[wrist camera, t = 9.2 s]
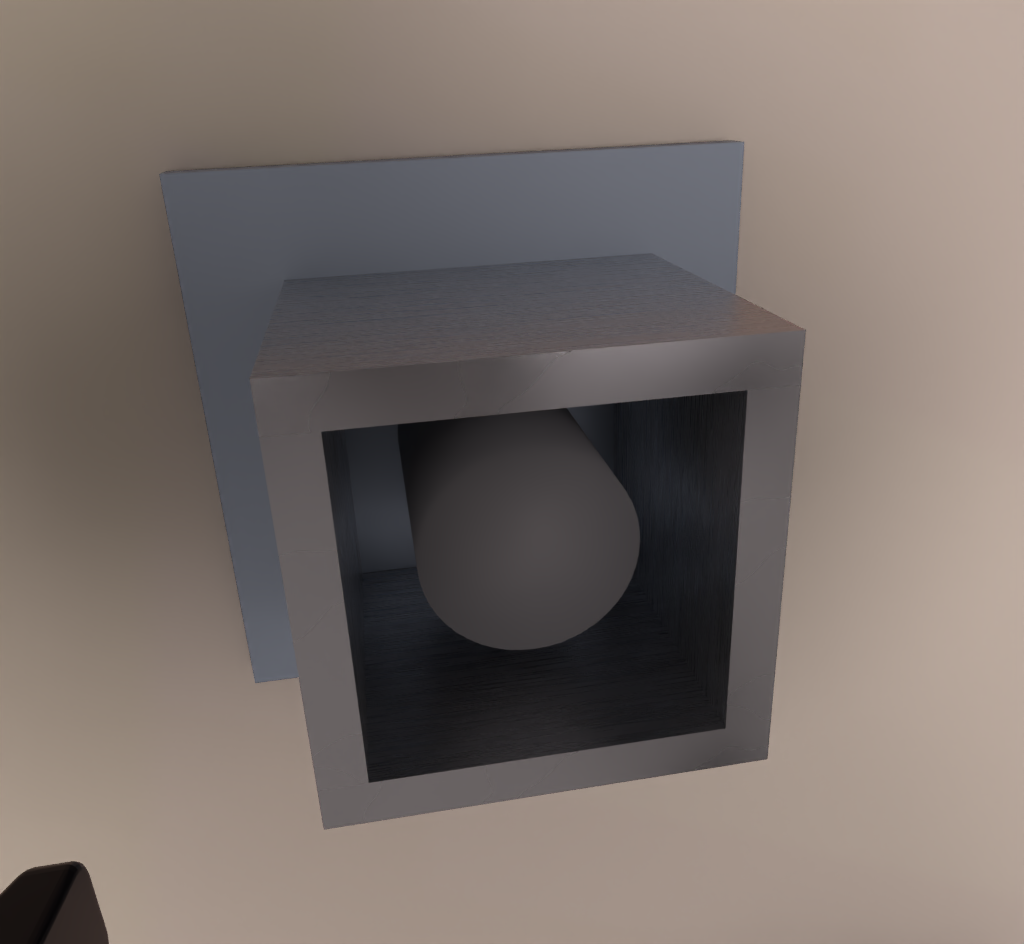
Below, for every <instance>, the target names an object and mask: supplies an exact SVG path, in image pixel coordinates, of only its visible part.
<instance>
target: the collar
mask: <svg viewBox="0 0 1024 944" xmlns="http://www.w3.org/2000/svg"><path fill="white" fill-rule="evenodd" d="M805 333H806V330H805V329H803V328H801V327H799V326H797V325H795V324H793V323H791V322H789V321H787V320H785V319H783V318H781V317H779V316H777V315H775V314H773V313H771V312H769V311H767V310H765V309H763V308H761V307H759V306H757V305H755V304H753V303H751V302H749V301H747V300H745V299H743V298H741V297H739V296H737V295H735V294H733V293H731V292H729V291H727V290H725V289H723V288H721V287H719V286H717V285H715V284H713V283H711V282H709V281H707V280H705V279H703V278H701V277H699V276H697V275H695V274H693V273H691V272H689V271H687V270H685V269H683V268H681V267H679V266H677V265H674V264H672V263H670V262H668V261H666V260H664V259H662V258H660V257H658V256H656V255H654V254H652V253H646V254H632V255H619V256H605V257H591V258H578V259H564V260H551V261H537V262H523V263H510V264H496V265H482V266H469V267H455V268H441V269H428V270H414V271H400V272H387V273H373V274H359V275H346V276H332V277H318V278H305V279H291V280H284V282H283V285H282V288H281V291H280V294H279V296H278V299H277V302H276V305H275V308H274V311H273V313H272V316H271V319H270V322H269V325H268V327H267V330H266V333H265V336H264V339H263V342H262V344H261V347H260V350H259V353H258V356H257V359H256V361H255V364H254V367H253V370H252V373H251V376H250V378H249V380H250V386H251V392H252V398H253V404H254V410H255V416H256V422H257V429H258V435H259V441H260V447H261V453H262V459H263V465H264V471H265V477H266V483H267V489H268V495H269V501H270V507H271V513H272V519H273V525H274V531H275V537H276V543H277V549H278V555H279V561H280V567H281V573H282V579H283V585H284V591H285V598H286V604H287V610H288V616H289V622H290V628H291V634H292V640H293V646H294V652H295V658H296V664H297V670H298V676H299V682H300V688H301V694H302V700H303V706H304V712H305V718H306V724H307V730H308V736H309V742H310V748H311V754H312V760H313V767H314V773H315V779H316V785H317V791H318V797H319V803H320V809H321V815H322V821H323V827H324V829H330V828H337V827H343V826H349V825H355V824H362V823H368V822H374V821H381V820H387V819H393V818H400V817H406V816H412V815H418V814H425V813H431V812H437V811H444V810H450V809H456V808H462V807H469V806H475V805H481V804H488V803H494V802H500V801H506V800H513V799H519V798H525V797H532V796H538V795H544V794H551V793H557V792H563V791H569V790H576V789H582V788H588V787H595V786H601V785H607V784H613V783H620V782H626V781H632V780H639V779H645V778H651V777H658V776H664V775H670V774H676V773H683V772H689V771H695V770H702V769H708V768H714V767H720V766H727V765H733V764H739V763H746V762H752V761H758V760H764V759H767V756H768V745H769V734H770V723H771V712H772V701H773V689H774V678H775V667H776V656H777V645H778V634H779V623H780V611H781V600H782V589H783V578H784V567H785V556H786V545H787V533H788V522H789V511H790V500H791V489H792V478H793V467H794V455H795V444H796V433H797V422H798V411H799V400H800V389H801V377H802V366H803V355H804V344H805ZM611 403H614V475H615V476H616V478H617V479H618V481H619V482H620V483H621V485H622V486H623V488H624V489H625V490H626V492H627V494H628V496H629V497H630V499H631V501H632V503H633V506H634V508H635V511H636V514H637V518H638V523H639V529H640V547H639V556H638V560H637V564H636V568H635V570H634V573H633V576H632V578H631V580H630V582H629V584H628V586H627V588H626V590H625V592H624V593H623V595H622V596H621V597H620V599H619V600H618V602H617V603H616V604H615V605H614V606H613V607H612V609H611V610H610V611H609V612H608V613H607V614H606V615H605V616H604V617H602V618H601V619H600V620H599V621H598V622H597V623H595V624H594V625H593V626H591V627H590V628H588V629H587V630H585V631H583V632H582V633H580V634H578V635H576V636H575V637H572V638H570V639H568V640H565V641H563V642H561V643H557V644H554V645H551V646H547V647H542V648H537V649H528V650H505V649H499V648H493V647H489V646H485V645H482V644H479V643H476V642H474V641H472V640H469V639H467V638H465V637H464V636H462V635H460V634H458V633H457V632H455V631H454V630H453V629H451V628H450V627H449V626H448V625H446V624H445V623H444V622H443V621H442V620H441V619H440V618H439V617H438V615H437V614H436V613H435V612H434V610H433V609H432V607H431V606H430V605H429V603H428V601H427V599H426V597H425V595H424V593H423V590H422V587H421V584H420V581H419V577H418V571H417V567H409V568H401V569H392V570H384V571H376V572H367V573H362V567H361V559H360V551H359V543H358V535H357V527H356V519H355V511H354V503H353V495H352V487H351V479H350V471H349V463H348V455H347V447H346V439H345V431H344V429H354V428H364V427H374V426H384V425H395V424H405V423H415V422H426V421H436V420H446V419H457V418H467V417H477V416H487V415H498V414H508V413H518V412H529V411H539V410H549V409H559V408H570V407H580V406H590V405H601V404H611Z"/></svg>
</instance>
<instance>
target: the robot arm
mask: <svg viewBox="0 0 1024 944" xmlns="http://www.w3.org/2000/svg"><path fill="white" fill-rule="evenodd" d="M0 944H109V941H108V934H107V930H106V927H105V923H104V920H103V917H102V914H101V911H100V907H99V904H98V901H97V898H96V894H95V891H94V888H93V885H92V882H91V878H90V875H89V873H88V871H87V869H86V868H85V866H84V865H83V864H82V863H80V862H75V861H71V862H65V863H59V864H52V865H46V866H40V867H34V868H31V869H28V870H26V871H25V872H23V873H22V874H20V875H19V876H18V877H17V878H16V879H15V880H14V881H13V882H12V883H11V884H10V885H9V886H8V887H7V888H6V889H5V890H4V891H3V892H2V893H1V894H0Z"/></svg>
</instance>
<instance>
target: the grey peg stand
mask: <svg viewBox="0 0 1024 944" xmlns="http://www.w3.org/2000/svg"><path fill="white" fill-rule="evenodd" d="M743 155H744V142H740V141H713V142H695V143H677V144H659V145H640V146H622V147H604V148H585V149H567V150H549V151H530V152H512V153H494V154H475V155H457V156H439V157H421V158H402V159H384V160H366V161H347V162H329V163H311V164H292V165H274V166H256V167H237V168H219V169H201V170H183V171H166V172H163V173H161V174H159V175H160V180H161V186H162V191H163V196H164V202H165V207H166V212H167V217H168V223H169V228H170V233H171V239H172V244H173V249H174V255H175V260H176V265H177V270H178V276H179V281H180V286H181V292H182V297H183V302H184V308H185V313H186V318H187V324H188V329H189V334H190V339H191V345H192V350H193V355H194V361H195V366H196V371H197V377H198V382H199V387H200V392H201V398H202V403H203V408H204V414H205V419H206V424H207V430H208V435H209V440H210V446H211V451H212V456H213V461H214V467H215V472H216V477H217V483H218V488H219V493H220V499H221V504H222V509H223V514H224V520H225V525H226V530H227V536H228V541H229V546H230V552H231V557H232V562H233V568H234V573H235V578H236V583H237V589H238V594H239V599H240V605H241V610H242V615H243V621H244V626H245V631H246V636H247V642H248V647H249V652H250V658H251V663H252V668H253V674H254V679H255V683H259V682H267V681H274V680H282V679H289V678H297V677H299V676H298V670H297V664H296V658H295V652H294V646H293V640H292V634H291V628H290V622H289V616H288V610H287V604H286V598H285V591H284V585H283V579H282V573H281V567H280V561H279V555H278V549H277V543H276V537H275V531H274V525H273V519H272V513H271V507H270V501H269V495H268V489H267V483H266V477H265V471H264V465H263V459H262V453H261V447H260V441H259V435H258V429H257V422H256V416H255V410H254V404H253V398H252V392H251V386H250V380H249V378H250V376H251V373H252V370H253V367H254V364H255V361H256V359H257V356H258V353H259V350H260V347H261V344H262V342H263V339H264V336H265V333H266V330H267V327H268V325H269V322H270V319H271V316H272V313H273V311H274V308H275V305H276V302H277V299H278V296H279V294H280V291H281V288H282V285H283V282H284V280H291V279H305V278H318V277H332V276H346V275H359V274H373V273H387V272H400V271H414V270H428V269H441V268H455V267H469V266H482V265H496V264H510V263H523V262H537V261H551V260H564V259H578V258H591V257H605V256H619V255H632V254H646V253H652V254H654V255H656V256H658V257H660V258H662V259H664V260H666V261H668V262H670V263H672V264H674V265H677V266H679V267H681V268H683V269H685V270H687V271H689V272H691V273H693V274H695V275H697V276H699V277H701V278H703V279H705V280H707V281H709V282H711V283H713V284H715V285H717V286H719V287H721V288H723V289H725V290H727V291H729V292H731V293H733V294H735V293H736V276H737V259H738V241H739V224H740V207H741V190H742V172H743ZM344 431H345V439H346V447H347V455H348V463H349V471H350V479H351V487H352V495H353V503H354V511H355V519H356V527H357V535H358V543H359V551H360V559H361V567H362V573H367V572H376V571H384V570H392V569H401V568H409V567H417V571H418V577H419V581H420V584H421V587H422V590H423V593H424V595H425V597H426V599H427V601H428V603H429V605H430V606H431V607H432V609H433V610H434V612H435V613H436V614H437V615H438V617H439V618H440V619H441V620H442V621H443V622H444V623H445V624H446V625H448V626H449V627H450V628H451V629H453V630H454V631H455V632H457V633H458V634H460V635H462V636H464V637H465V638H467V639H469V640H472V641H474V642H476V643H479V644H482V645H485V646H489V647H493V648H499V649H505V650H528V649H537V648H542V647H547V646H551V645H554V644H557V643H561V642H563V641H565V640H568V639H570V638H572V637H575V636H576V635H578V634H580V633H582V632H583V631H585V630H587V629H588V628H590V627H591V626H593V625H594V624H595V623H597V622H598V621H599V620H600V619H601V618H602V617H604V616H605V615H606V614H607V613H608V612H609V611H610V610H611V609H612V607H613V606H614V605H615V604H616V603H617V602H618V600H619V599H620V597H621V596H622V595H623V593H624V592H625V590H626V588H627V586H628V584H629V582H630V580H631V578H632V576H633V573H634V570H635V568H636V564H637V560H638V556H639V547H640V529H639V523H638V518H637V514H636V511H635V508H634V506H633V503H632V501H631V499H630V497H629V496H628V494H627V492H626V490H625V489H624V488H623V486H622V485H621V483H620V482H619V481H618V479H617V478H616V476H615V475H614V403H611V404H601V405H590V406H580V407H570V408H559V409H549V410H539V411H529V412H518V413H508V414H498V415H487V416H477V417H467V418H457V419H446V420H436V421H426V422H415V423H405V424H395V425H384V426H374V427H364V428H354V429H344Z"/></svg>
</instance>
